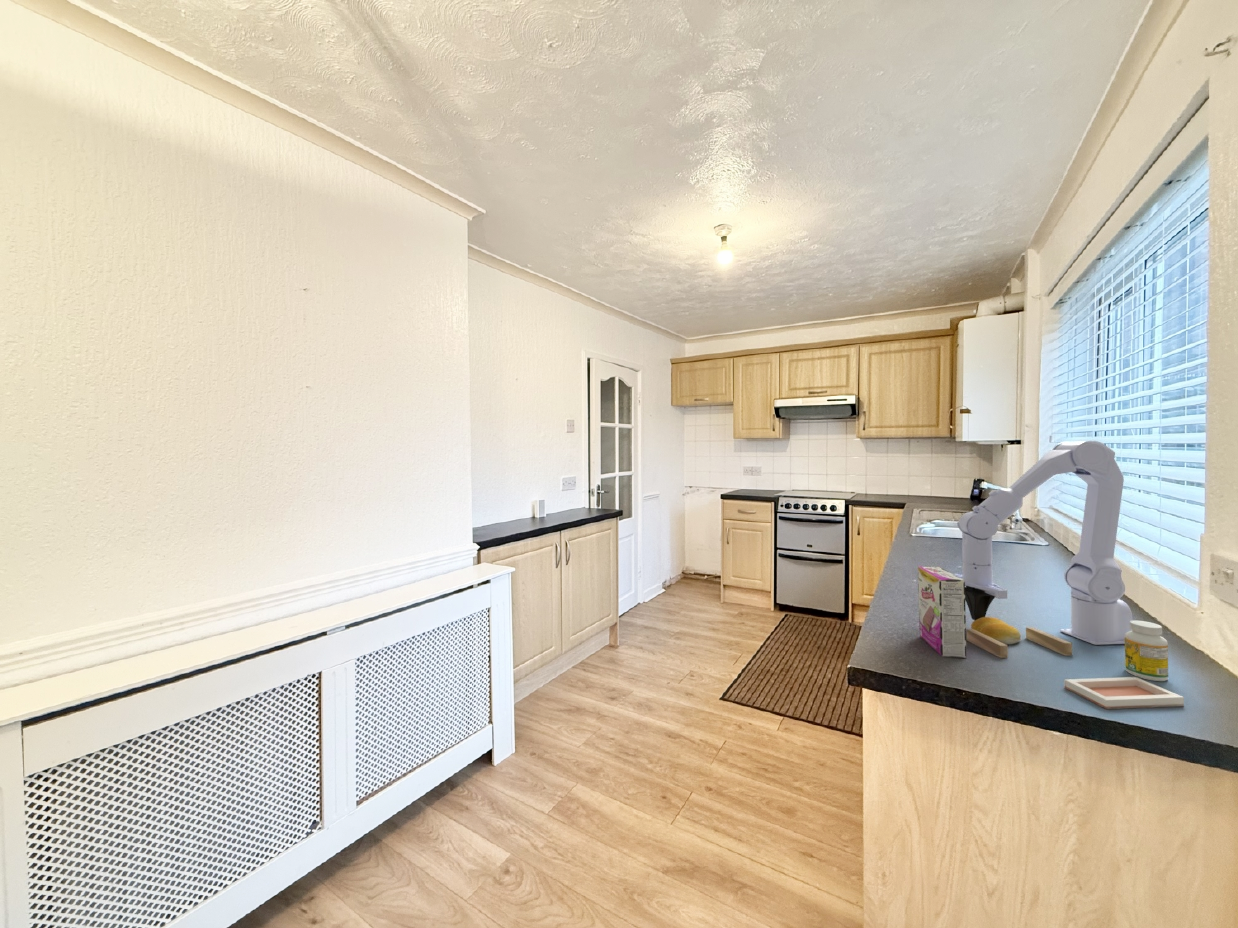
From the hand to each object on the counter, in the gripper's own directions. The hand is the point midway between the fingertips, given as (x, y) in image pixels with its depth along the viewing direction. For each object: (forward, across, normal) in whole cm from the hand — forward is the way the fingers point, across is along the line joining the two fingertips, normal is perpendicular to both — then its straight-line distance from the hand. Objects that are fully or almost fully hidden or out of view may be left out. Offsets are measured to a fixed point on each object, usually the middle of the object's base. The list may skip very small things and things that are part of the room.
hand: (977, 619), depth 111 cm
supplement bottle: (+2, +24, +13) cm, 27 cm away
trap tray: (+2, +31, 0) cm, 31 cm away
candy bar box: (+2, +9, -16) cm, 18 cm away
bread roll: (+2, +5, 0) cm, 5 cm away
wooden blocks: (+2, +11, 0) cm, 11 cm away
